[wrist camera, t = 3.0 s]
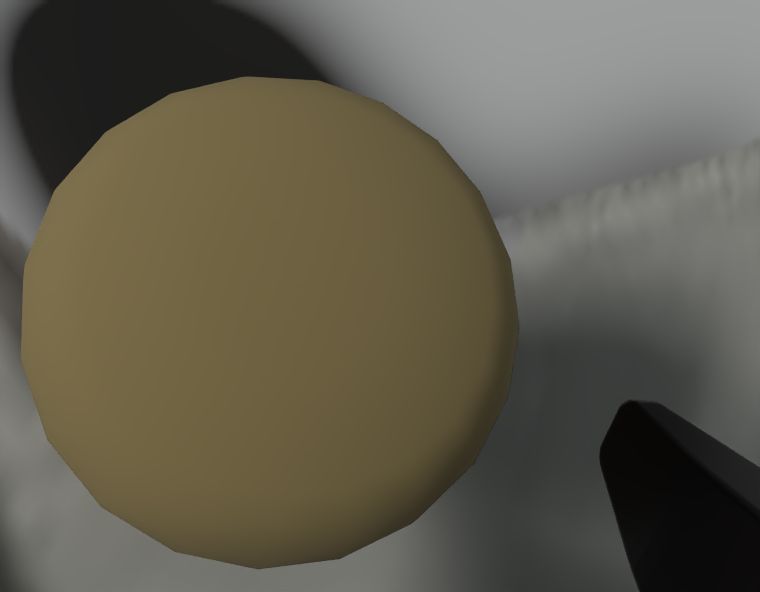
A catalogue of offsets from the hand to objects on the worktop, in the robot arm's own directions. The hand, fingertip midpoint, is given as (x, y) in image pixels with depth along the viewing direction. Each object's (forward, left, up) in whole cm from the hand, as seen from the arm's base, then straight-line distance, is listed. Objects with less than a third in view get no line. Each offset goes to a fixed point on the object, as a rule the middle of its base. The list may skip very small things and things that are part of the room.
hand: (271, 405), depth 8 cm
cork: (+1, 0, -9) cm, 9 cm away
